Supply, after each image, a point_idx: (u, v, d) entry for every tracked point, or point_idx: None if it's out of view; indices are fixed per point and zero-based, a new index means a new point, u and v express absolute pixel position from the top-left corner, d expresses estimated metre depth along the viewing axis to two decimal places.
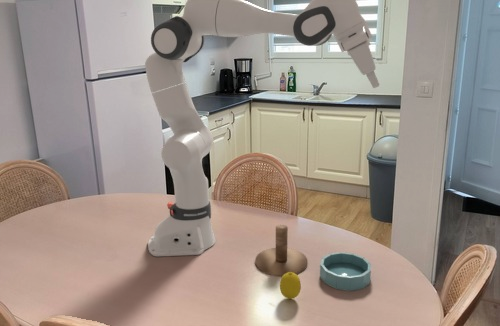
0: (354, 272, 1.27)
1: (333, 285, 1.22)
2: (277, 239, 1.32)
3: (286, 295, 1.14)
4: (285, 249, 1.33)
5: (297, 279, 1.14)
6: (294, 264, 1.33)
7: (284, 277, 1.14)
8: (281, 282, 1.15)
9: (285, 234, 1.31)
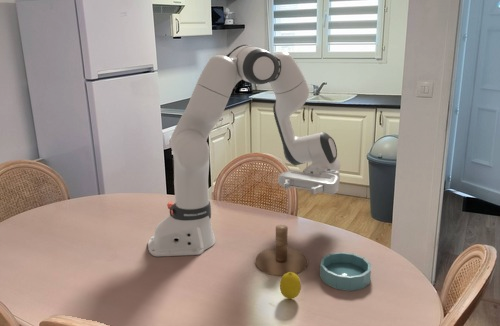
0: (354, 272, 1.27)
1: (333, 285, 1.22)
2: (277, 239, 1.32)
3: (286, 295, 1.14)
4: (285, 249, 1.33)
5: (297, 279, 1.14)
6: (294, 264, 1.33)
7: (284, 277, 1.14)
8: (281, 282, 1.15)
9: (285, 234, 1.31)
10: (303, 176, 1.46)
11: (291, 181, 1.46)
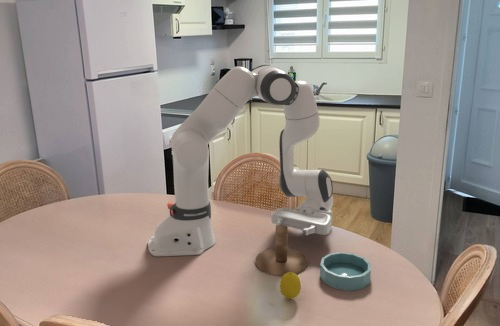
0: (354, 272, 1.27)
1: (333, 285, 1.22)
2: (277, 239, 1.32)
3: (286, 295, 1.14)
4: (285, 249, 1.33)
5: (297, 279, 1.14)
6: (294, 264, 1.33)
7: (284, 277, 1.14)
8: (281, 282, 1.15)
9: (285, 234, 1.31)
10: (296, 215, 1.46)
11: (284, 220, 1.46)
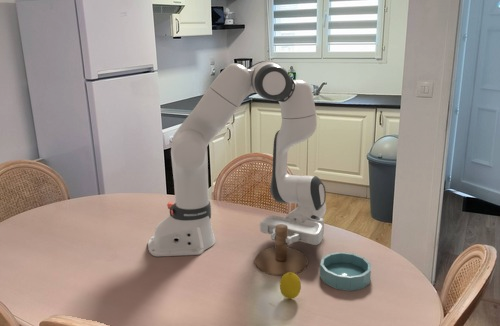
0: (354, 272, 1.27)
1: (333, 285, 1.22)
2: (277, 238, 1.32)
3: (286, 295, 1.14)
4: (285, 248, 1.33)
5: (297, 279, 1.14)
6: (294, 263, 1.33)
7: (284, 277, 1.14)
8: (281, 282, 1.15)
9: (285, 233, 1.31)
10: (286, 224, 1.39)
11: None
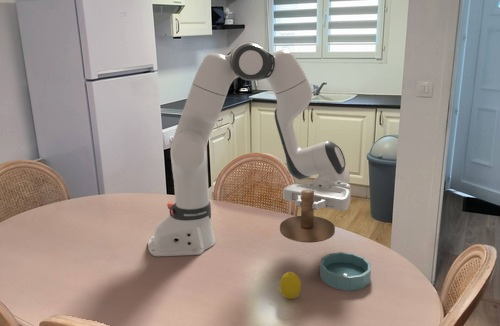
0: (354, 272, 1.27)
1: (333, 285, 1.22)
2: (303, 204, 1.25)
3: (286, 295, 1.14)
4: (311, 215, 1.26)
5: (297, 279, 1.14)
6: (321, 230, 1.26)
7: (284, 277, 1.14)
8: (281, 282, 1.15)
9: (311, 199, 1.25)
10: None
11: None
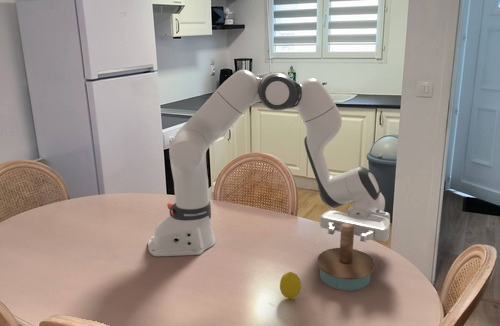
0: None
1: (333, 285, 1.22)
2: (343, 239, 1.22)
3: (286, 295, 1.14)
4: (351, 249, 1.23)
5: (297, 279, 1.14)
6: (361, 266, 1.23)
7: (284, 277, 1.14)
8: (281, 282, 1.15)
9: (352, 233, 1.22)
10: (349, 218, 1.29)
11: (335, 224, 1.29)
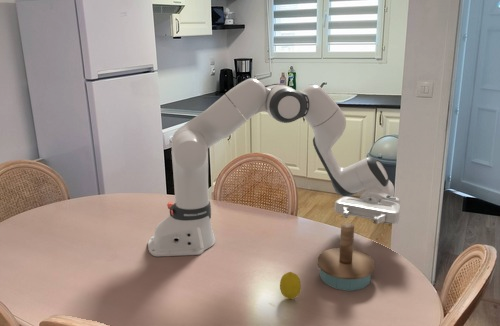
0: None
1: (333, 285, 1.22)
2: (343, 239, 1.22)
3: (286, 295, 1.14)
4: (351, 249, 1.23)
5: (297, 279, 1.14)
6: (361, 266, 1.23)
7: (284, 277, 1.14)
8: (281, 282, 1.15)
9: (352, 233, 1.22)
10: (362, 203, 1.39)
11: (349, 209, 1.39)
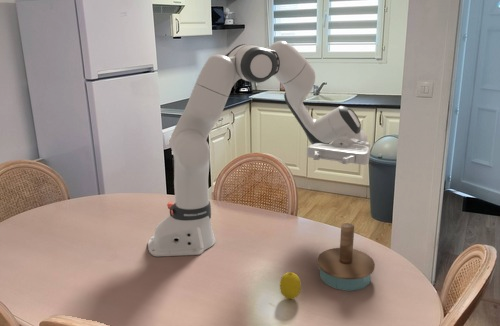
0: None
1: (333, 285, 1.22)
2: (343, 239, 1.22)
3: (286, 295, 1.14)
4: (351, 249, 1.23)
5: (297, 279, 1.14)
6: (361, 266, 1.23)
7: (284, 277, 1.14)
8: (281, 282, 1.15)
9: (352, 233, 1.22)
10: (333, 147, 1.42)
11: (320, 153, 1.42)
